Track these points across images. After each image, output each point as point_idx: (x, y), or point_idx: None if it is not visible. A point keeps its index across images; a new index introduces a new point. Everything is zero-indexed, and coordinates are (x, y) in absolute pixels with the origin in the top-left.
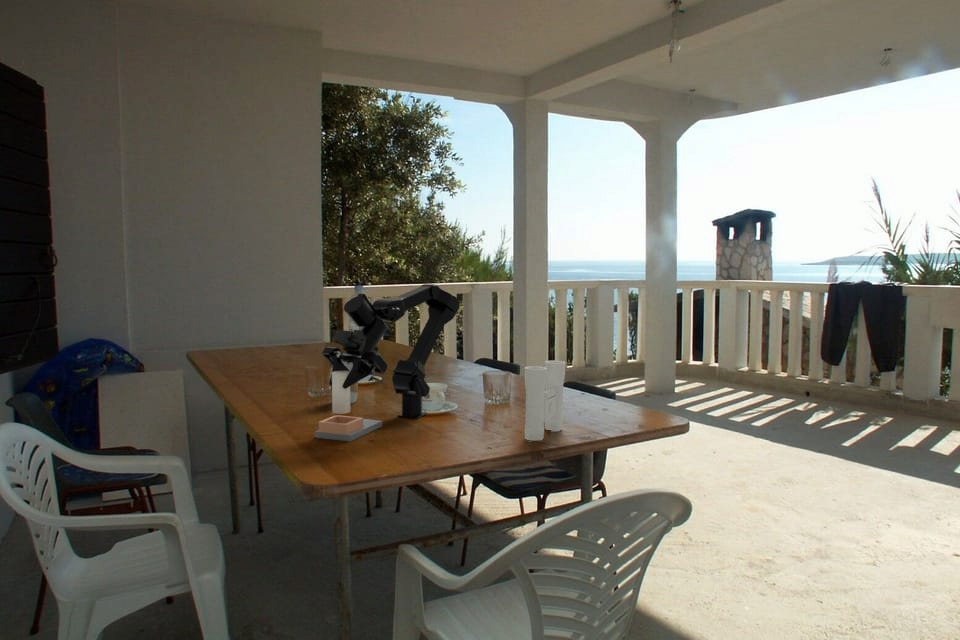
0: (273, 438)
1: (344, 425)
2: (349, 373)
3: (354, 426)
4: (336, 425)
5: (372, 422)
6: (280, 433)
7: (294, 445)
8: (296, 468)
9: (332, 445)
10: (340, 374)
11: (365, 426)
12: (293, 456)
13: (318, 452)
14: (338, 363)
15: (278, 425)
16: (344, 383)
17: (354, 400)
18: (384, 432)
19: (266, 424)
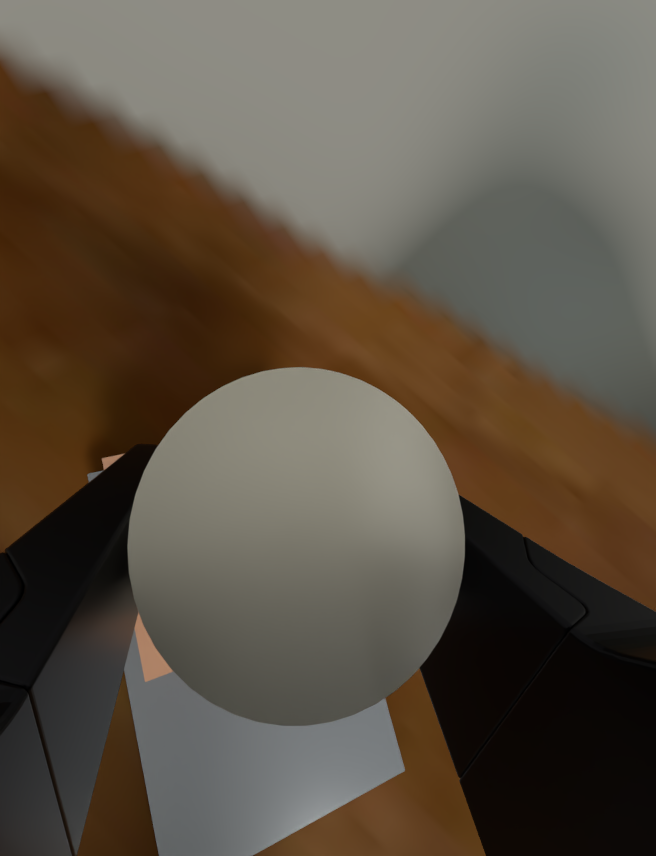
0: (417, 331)
1: (121, 455)
2: (82, 565)
3: None
4: None
5: (195, 806)
6: (459, 397)
7: (273, 297)
8: (7, 71)
9: (127, 377)
10: (199, 407)
11: (158, 690)
12: (150, 183)
13: (98, 265)
14: (633, 702)
15: (563, 478)
16: (134, 459)
17: None
18: None
19: (601, 460)
